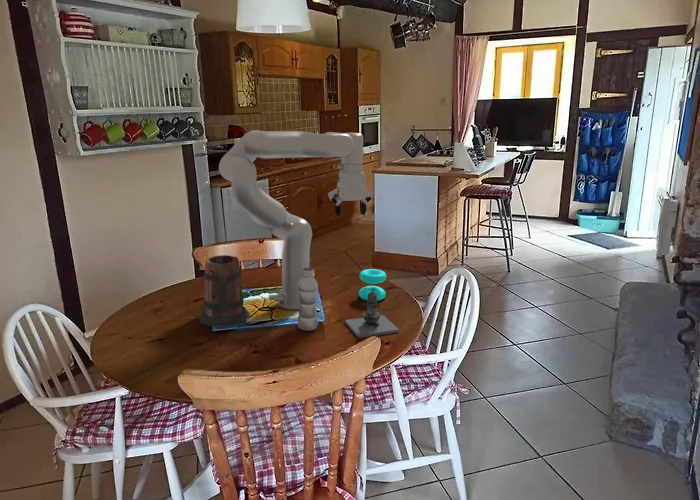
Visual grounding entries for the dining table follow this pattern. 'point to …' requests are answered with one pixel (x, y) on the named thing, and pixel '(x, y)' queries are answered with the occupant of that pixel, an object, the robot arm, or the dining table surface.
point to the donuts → (373, 278)
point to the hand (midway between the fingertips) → (350, 215)
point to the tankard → (223, 292)
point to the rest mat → (363, 331)
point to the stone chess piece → (371, 311)
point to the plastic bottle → (307, 300)
